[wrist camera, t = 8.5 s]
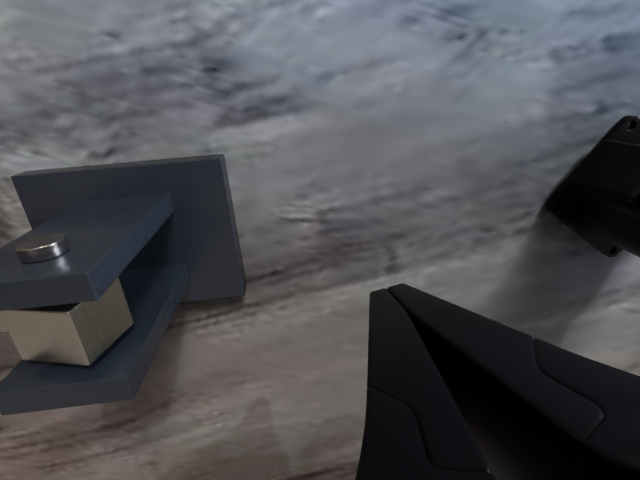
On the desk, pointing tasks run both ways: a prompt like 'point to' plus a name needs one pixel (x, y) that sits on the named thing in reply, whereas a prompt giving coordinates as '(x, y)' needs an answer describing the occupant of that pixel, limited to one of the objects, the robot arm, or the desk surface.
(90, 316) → the red-knobbed lever handle
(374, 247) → the desk surface
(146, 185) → the dark grey lever stand
